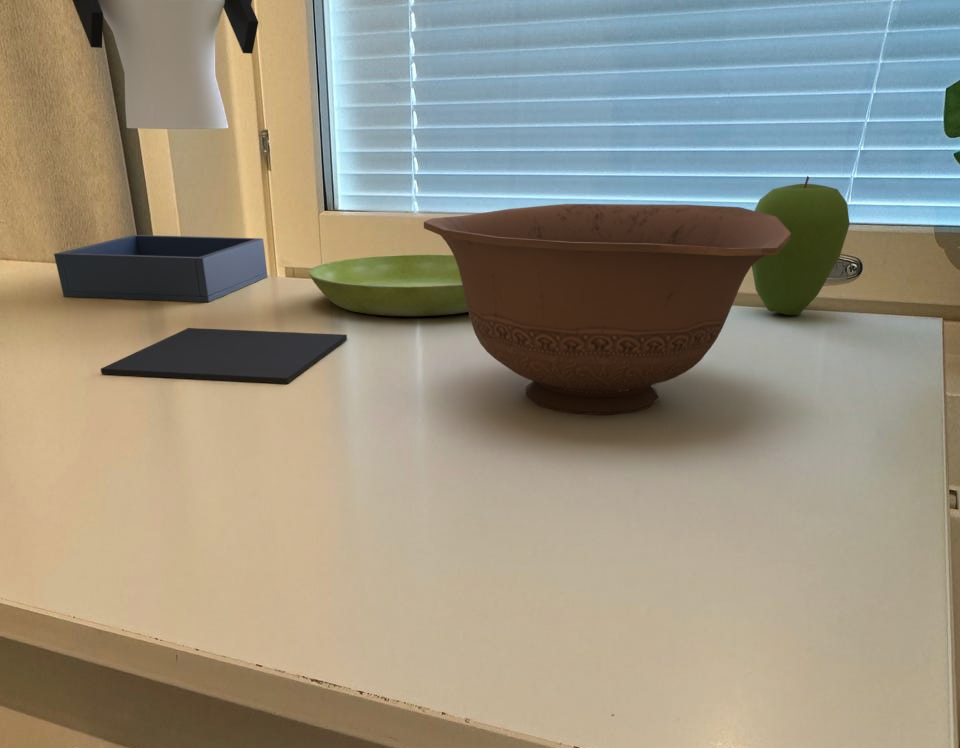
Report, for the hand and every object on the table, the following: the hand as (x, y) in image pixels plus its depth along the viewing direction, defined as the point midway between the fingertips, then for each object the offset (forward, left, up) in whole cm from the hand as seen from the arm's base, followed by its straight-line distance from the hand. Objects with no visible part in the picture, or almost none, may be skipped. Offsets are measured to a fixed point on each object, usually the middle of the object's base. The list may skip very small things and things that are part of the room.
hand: (177, 34), depth 65 cm
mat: (+5, -8, -21) cm, 23 cm away
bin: (-14, +20, -21) cm, 32 cm away
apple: (+49, +17, -21) cm, 56 cm away
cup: (-2, +2, -6) cm, 7 cm away
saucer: (+14, +16, -21) cm, 30 cm away
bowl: (+33, -14, -21) cm, 41 cm away
